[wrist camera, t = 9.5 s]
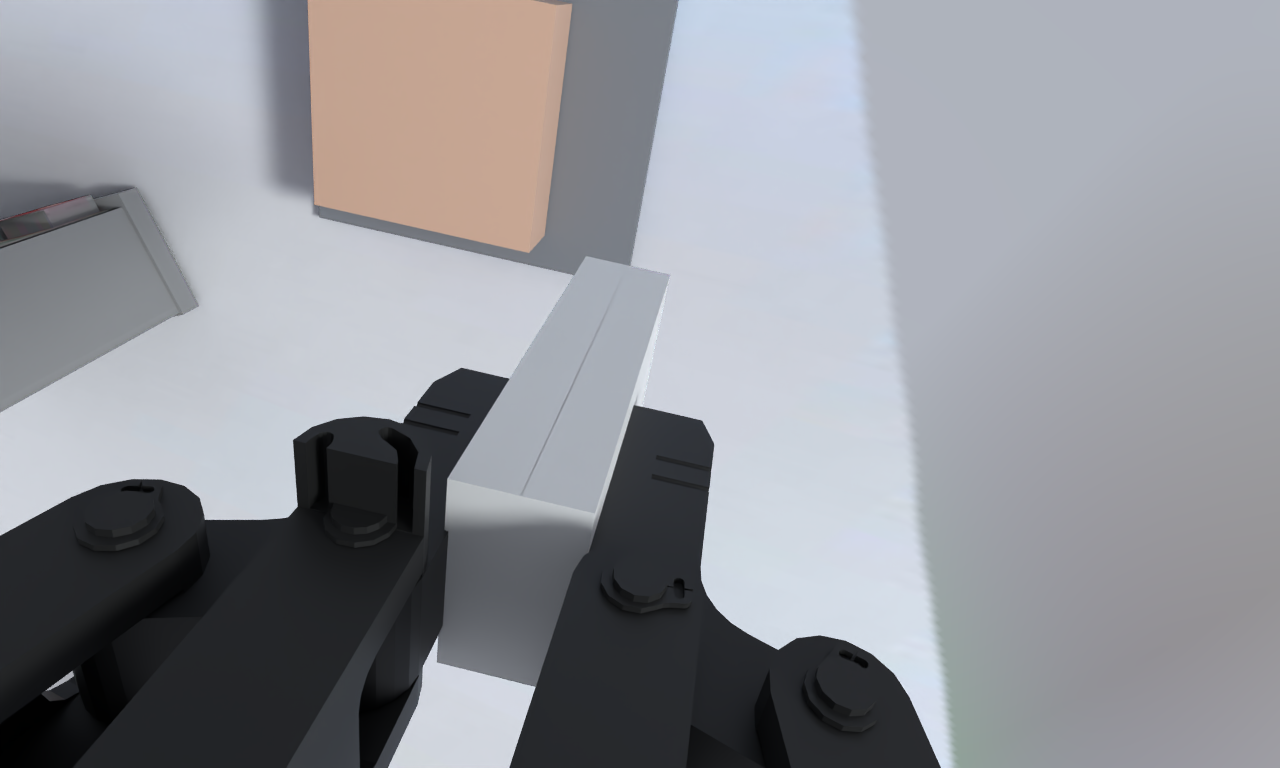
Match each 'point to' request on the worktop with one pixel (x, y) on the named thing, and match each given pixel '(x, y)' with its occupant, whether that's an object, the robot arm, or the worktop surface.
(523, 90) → the tile
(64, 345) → the cassette tape recorder
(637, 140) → the mat
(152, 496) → the robot arm
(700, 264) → the worktop surface
